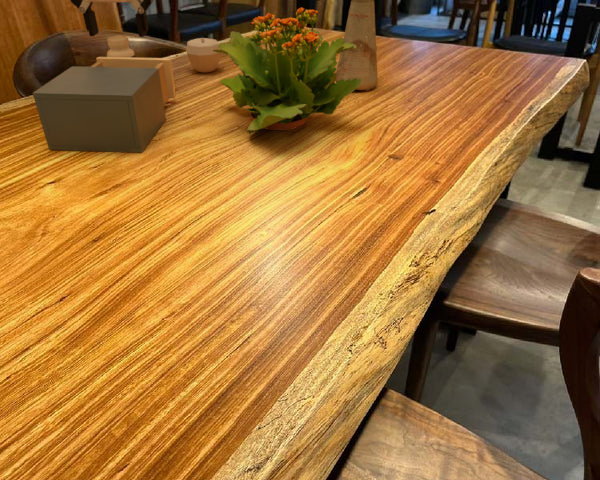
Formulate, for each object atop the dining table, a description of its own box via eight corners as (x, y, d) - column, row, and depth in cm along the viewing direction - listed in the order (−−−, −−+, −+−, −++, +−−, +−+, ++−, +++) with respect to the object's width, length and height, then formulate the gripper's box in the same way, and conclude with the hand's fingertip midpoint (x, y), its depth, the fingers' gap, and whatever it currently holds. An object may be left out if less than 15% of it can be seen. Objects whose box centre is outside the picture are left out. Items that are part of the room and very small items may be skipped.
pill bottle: (132, 79, 113) (124, 33, 107) (144, 85, 109) (136, 38, 104) (108, 84, 110) (99, 37, 104) (119, 90, 107) (110, 42, 101)
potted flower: (181, 118, 94) (167, 6, 84) (279, 90, 108) (277, -10, 97) (279, 159, 81) (277, 31, 70) (377, 121, 94) (387, 9, 83)
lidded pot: (217, 76, 115) (214, 43, 111) (182, 74, 116) (178, 42, 112) (227, 66, 121) (225, 35, 117) (194, 65, 122) (190, 33, 118)
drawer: (113, 88, 105) (106, 50, 101) (181, 89, 105) (176, 52, 100) (79, 119, 91) (69, 77, 87) (156, 121, 90) (150, 79, 86)
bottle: (329, 90, 108) (336, -80, 91) (341, 78, 115) (349, -82, 97) (371, 95, 106) (386, -79, 89) (380, 82, 112) (396, -81, 95)
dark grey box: (84, 117, 94) (71, 66, 89) (166, 120, 94) (158, 68, 88) (49, 150, 83) (32, 92, 77) (142, 152, 82) (131, 95, 77)
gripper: (152, -74, 96) (167, 31, 107) (58, -74, 97) (82, 30, 107) (140, -71, 90) (157, 40, 101) (40, -71, 91) (67, 39, 102)
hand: (118, 35), depth 104 cm, fingers open, 9 cm apart
